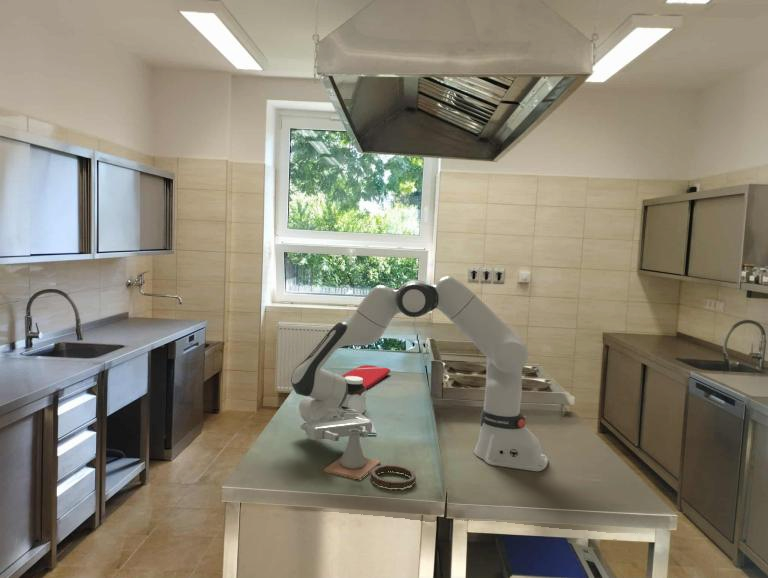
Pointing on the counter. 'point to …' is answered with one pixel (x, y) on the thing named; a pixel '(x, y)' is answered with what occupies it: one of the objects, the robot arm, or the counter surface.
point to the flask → (353, 452)
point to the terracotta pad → (352, 473)
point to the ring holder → (392, 484)
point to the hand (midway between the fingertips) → (351, 436)
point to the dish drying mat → (369, 374)
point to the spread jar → (355, 394)
